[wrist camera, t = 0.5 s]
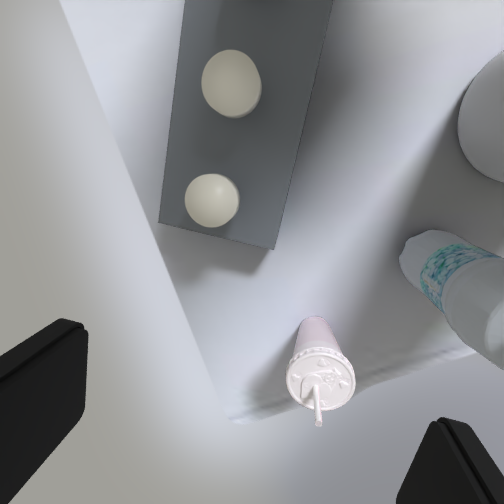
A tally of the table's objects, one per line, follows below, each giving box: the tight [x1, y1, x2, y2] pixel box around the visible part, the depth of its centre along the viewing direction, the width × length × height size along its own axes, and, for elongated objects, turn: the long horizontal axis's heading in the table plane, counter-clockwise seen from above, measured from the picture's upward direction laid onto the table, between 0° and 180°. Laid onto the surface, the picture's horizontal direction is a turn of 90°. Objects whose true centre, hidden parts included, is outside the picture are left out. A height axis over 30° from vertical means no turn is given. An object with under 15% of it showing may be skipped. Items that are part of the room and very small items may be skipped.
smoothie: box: [286, 316, 356, 426], centre depth 31 cm, size 6×6×14 cm
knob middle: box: [201, 50, 262, 118], centre depth 26 cm, size 4×4×6 cm
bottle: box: [399, 230, 504, 370], centre depth 24 cm, size 7×7×20 cm
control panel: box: [158, 0, 333, 250], centre depth 30 cm, size 26×12×5 cm, turn 168°
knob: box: [185, 174, 240, 227], centre depth 29 cm, size 4×4×6 cm
